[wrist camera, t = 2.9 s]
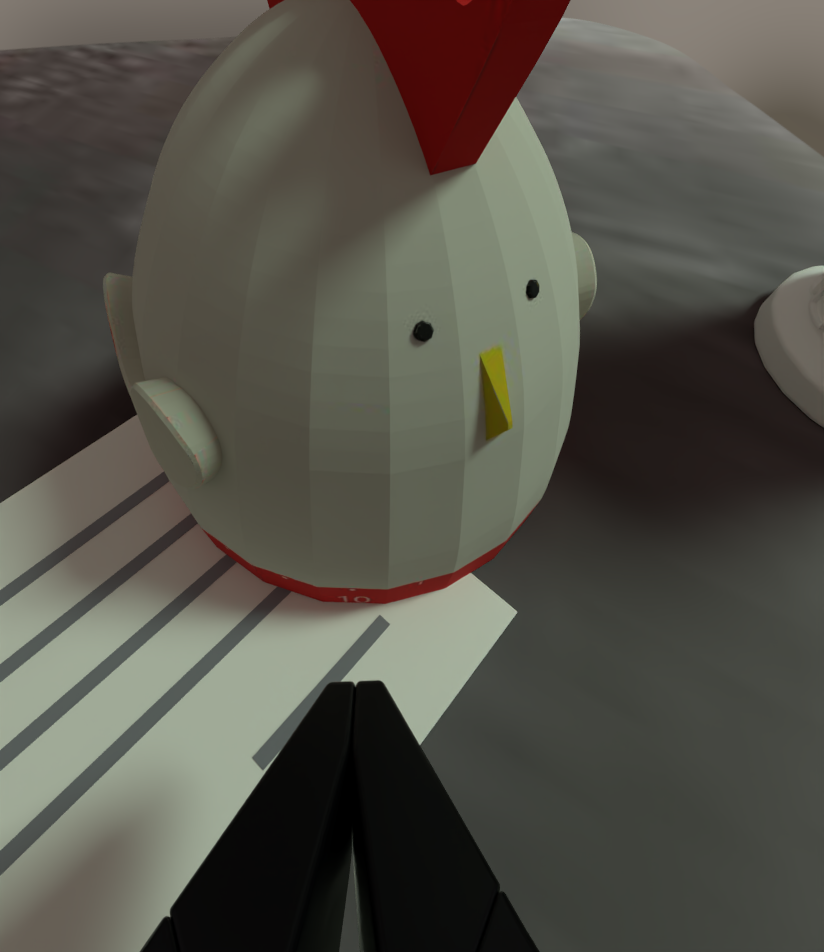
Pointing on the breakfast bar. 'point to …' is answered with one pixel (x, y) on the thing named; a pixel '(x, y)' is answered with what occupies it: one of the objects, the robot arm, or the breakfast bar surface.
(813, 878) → the breakfast bar surface
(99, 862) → the letter
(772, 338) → the decorative container
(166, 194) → the kitchen timer
